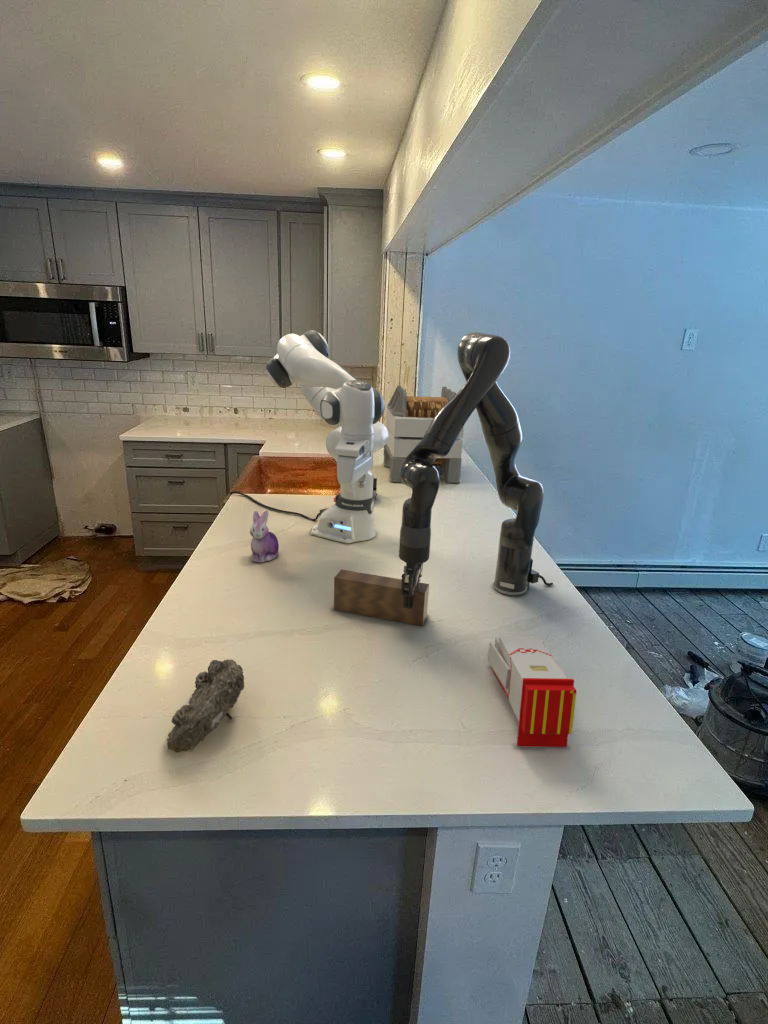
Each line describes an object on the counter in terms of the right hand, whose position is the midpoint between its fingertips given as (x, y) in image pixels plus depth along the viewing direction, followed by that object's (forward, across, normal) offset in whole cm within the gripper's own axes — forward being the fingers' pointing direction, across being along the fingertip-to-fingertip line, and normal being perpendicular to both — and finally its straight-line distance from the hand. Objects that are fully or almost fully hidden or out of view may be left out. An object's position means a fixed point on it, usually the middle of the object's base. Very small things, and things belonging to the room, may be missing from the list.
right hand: (410, 601), depth 144 cm
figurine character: (+5, +87, +38) cm, 95 cm away
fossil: (+5, -49, +27) cm, 56 cm away
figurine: (+5, +20, +51) cm, 55 cm away
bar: (+5, 0, +8) cm, 9 cm away
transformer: (+5, +135, +28) cm, 138 cm away
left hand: (-21, +16, +21) cm, 34 cm away
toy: (+5, -24, -30) cm, 38 cm away
